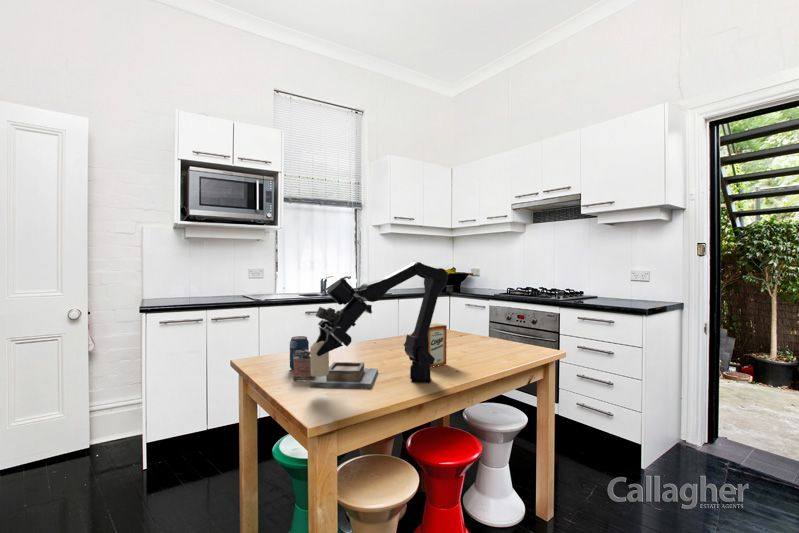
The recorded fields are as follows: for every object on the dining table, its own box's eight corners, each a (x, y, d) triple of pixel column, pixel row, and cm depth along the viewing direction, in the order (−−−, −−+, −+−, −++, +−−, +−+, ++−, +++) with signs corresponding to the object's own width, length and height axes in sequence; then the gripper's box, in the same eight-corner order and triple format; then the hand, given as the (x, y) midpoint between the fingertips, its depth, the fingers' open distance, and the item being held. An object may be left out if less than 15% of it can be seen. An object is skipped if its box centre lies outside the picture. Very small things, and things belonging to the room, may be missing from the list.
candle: (321, 370, 125) (320, 339, 125) (332, 373, 122) (332, 341, 121) (306, 374, 121) (306, 342, 121) (318, 378, 117) (318, 344, 117)
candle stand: (377, 372, 145) (377, 360, 145) (371, 388, 127) (371, 374, 127) (324, 371, 147) (324, 359, 147) (309, 386, 129) (310, 373, 129)
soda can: (293, 372, 144) (293, 340, 144) (287, 368, 150) (286, 337, 150) (311, 369, 148) (311, 338, 148) (304, 365, 154) (304, 335, 154)
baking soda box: (427, 368, 152) (427, 326, 151) (417, 364, 157) (417, 324, 157) (446, 364, 157) (446, 324, 157) (435, 361, 162) (436, 322, 162)
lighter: (317, 377, 139) (317, 349, 139) (315, 380, 135) (315, 351, 135) (294, 377, 138) (294, 349, 138) (292, 380, 135) (292, 351, 135)
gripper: (324, 295, 131) (290, 331, 126) (340, 300, 114) (302, 342, 110) (347, 317, 134) (315, 353, 130) (366, 325, 118) (330, 366, 113)
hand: (315, 353), depth 121 cm, fingers closed on candle, 5 cm apart
